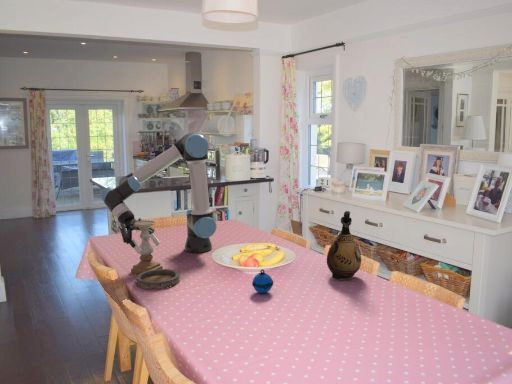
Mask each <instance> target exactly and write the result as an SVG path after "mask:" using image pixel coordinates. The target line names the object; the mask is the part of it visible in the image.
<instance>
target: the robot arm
mask: <svg viewBox="0 0 512 384" xmlns="http://www.w3.org/2000/svg"><path fill="white" fill-rule="evenodd" d="M209 148H210V145H209V140H208V139H207V138H206V137H205V136H204V135H202V134H200V133H193V132H192V133H187V134H185V135H183V136H182V137H181V138H180V139H178V140H177V141H175V142H174V143H172V144H171V147H169V148H168V149H166V150H165V151H163V152H161V153H160V154H159V155H156V157H154V158H152V159H151V160H149V161H147V162H146V163H144V164H142V165H141V166H140V167H138V168H136V169H135V170H133V171H132V172H130V173H128V174H127V175H124V176H122V177H121V178H120V179H119V181H118V186H116V187H114V188H113V187H112V186H108V187H107V188H105V189H103V190H102V191H101V192H100V198H101V200H102V201H103V203H104V204H105V206H106V207H107V208H108V209H109V211H110V212H111V213H112V214H113V216H114V217H115V218H116V219H117V221H118V223H119V226H118V228H119V230H120V233H121V237H122V238H121V239H122V241H123V243H124V244H126V245H130V246H131V247H132V248H133V249H134V251H135V252H136V253H137V254H139V253H140V251H141V250H142V249H141V248H140V247H139V246H140V244H138V243H137V242H136V240H135V239H134V238H133V231H136V230H137V231H139V232H141V230H140V229H139V227H135V226H134V225H133V224H134V223H135V222H138V221H144V220H143V219H142V218H140V217H139V218H138V219H136V218H135V214H134V213H133V211H132V210H130V208H129V206H128V205H127V204H126V203H125V202H124V201H126V200H127V199H128V198H130V197H131V196H132V195H134V194H135V193H136V192H138V191H139V190H140V189H141V188H143V187H142V186H143V185H142V184H143V183H144V182H146V181H147V180H149V179H150V178H153V177H154V176H155V175H157V174H158V173H160V172H161V171H163V170H165V169H166V168H168V167H170V166H171V165H172V164H174V163H176V162H177V161H178V160H184V159H185V160H184V161H185V162H186V163H187V164H188V170H189V181H190V190H191V199H192V208H191V209H187V210H186V228H187V229H186V230H187V231H186V232H187V235H186V236H187V238H186V240H185V243H184V251H185V252H188V253H194V254H197V253H198V254H199V253H206V252H209V251H211V250H212V249H213V244H212V241H211V239H210V237H212V236H213V235H215V233H216V231H217V227H218V226H217V222H216V220H215V218H214V210H213V209H212V208H211V207H210V196H209V188H208V187H209V186H208V178H207V177H208V176H207V167H206V162H207V161H208V160H209V157H208V155H209V154H208V151H209ZM155 231H156V229H155V228H153V226H150V229H149V234H150V235H151V236H150V238H149V239H150V240H151V241H152V242H153V243H154V245H155V246H156V247H159V246H160V244H161V241H160V240H159V239H158V237H157V236H156V234H155V233H154V232H155Z"/></svg>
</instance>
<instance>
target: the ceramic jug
mask: <svg viewBox="0 0 512 384" xmlns="http://www.w3.org/2000/svg"><path fill="white" fill-rule="evenodd" d="M350 216H351V211H350V210H345V211H344V213H343V216H341V218H340V223H341V224H342V225H341V226H342V227H341V230H340V232H339V233H340V234H338V235H337V236H336V238H334V240H333V242H332V244H331V245H330V246H329V248H328V251H327V253H326V254H327V255H326V265H327V268H328V269H329V272H331V276H332V279H336V280H339V281H349V280H352V279H353V277H354V276H355V274H357V272H358V271H359V270H360V268H361V265H362V256H361V255H362V254H361V251H360V248H359V245H358V243H357V242H356V239H354V237H353V235H352V234H351V232H350V226H351V225H352V220H353V219H352V218H351V217H350Z"/></svg>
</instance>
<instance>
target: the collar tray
mask: <svg viewBox="0 0 512 384" xmlns="http://www.w3.org/2000/svg"><path fill="white" fill-rule="evenodd" d="M180 278H181V277H180V272H178V271H177V270H175V269H169V268H163V269H155V270H149V271H145V272H143V273H141V274H137V276H136V286H137V287H139V288H140V289H143V288H144V289H143V290H149V289H157V290H163V289H162V288H165V289H168V288H167V287H169V288H171V287H170V286H172V287H174V286H173V285H175V286H177V285H178V284H179V283H180V282H181V279H180ZM179 281H180V282H179ZM178 282H179V283H178ZM177 283H178V284H177ZM176 284H177V285H176Z"/></svg>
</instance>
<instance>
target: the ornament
mask: <svg viewBox="0 0 512 384" xmlns="http://www.w3.org/2000/svg"><path fill="white" fill-rule="evenodd" d="M251 284H252V287H253V288H254V290H255V291H256V292H258V293H260V294H265V293H266V294H267V293H268V292H269V291H271V289H272V287H273V286H274V280H273V278H272V277H271V275H269V274H268V273H266V272H265V269H261V270H260V272H259V273H257V274H256V275H255V276H254V277H253V279H252V283H251Z"/></svg>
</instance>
